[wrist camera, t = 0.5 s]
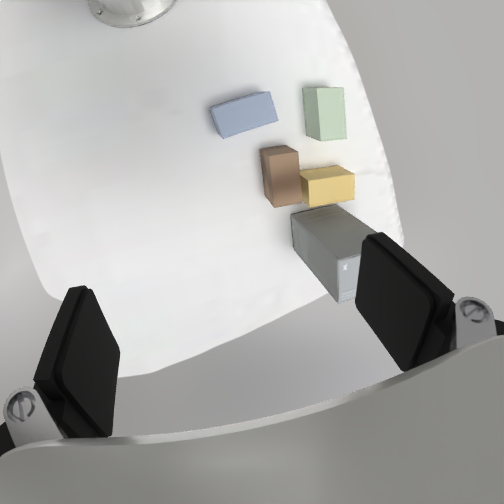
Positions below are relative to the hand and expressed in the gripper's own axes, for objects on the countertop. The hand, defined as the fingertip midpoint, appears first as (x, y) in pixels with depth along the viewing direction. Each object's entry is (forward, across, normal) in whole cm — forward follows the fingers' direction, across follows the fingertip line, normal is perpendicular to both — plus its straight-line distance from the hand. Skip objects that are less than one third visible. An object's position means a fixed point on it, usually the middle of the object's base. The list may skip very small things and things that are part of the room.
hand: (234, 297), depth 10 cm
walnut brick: (+33, -10, +5) cm, 35 cm away
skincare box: (+33, -17, +15) cm, 40 cm away
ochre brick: (+33, -17, +7) cm, 38 cm away
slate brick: (+33, -6, -4) cm, 34 cm away
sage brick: (+33, -17, -3) cm, 37 cm away
